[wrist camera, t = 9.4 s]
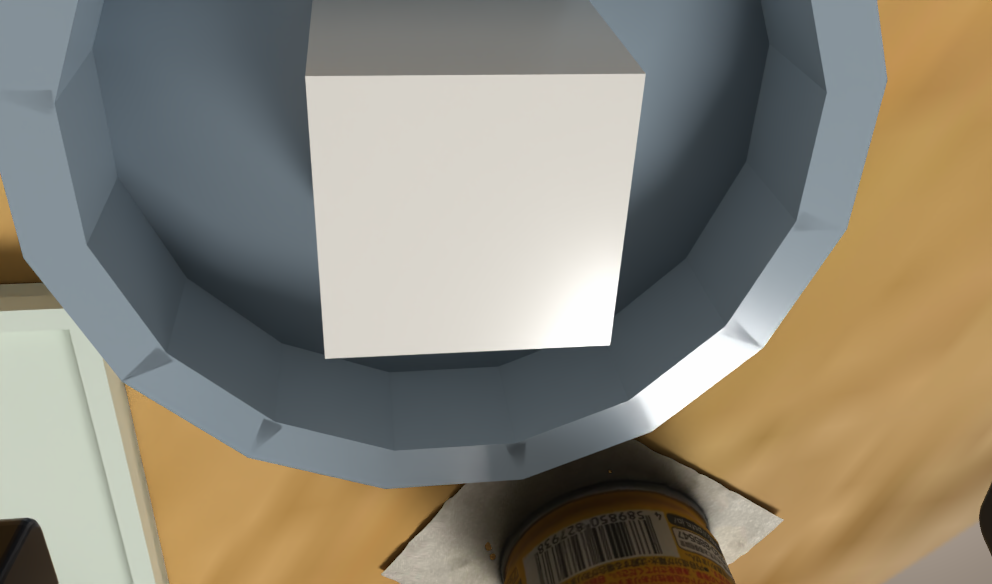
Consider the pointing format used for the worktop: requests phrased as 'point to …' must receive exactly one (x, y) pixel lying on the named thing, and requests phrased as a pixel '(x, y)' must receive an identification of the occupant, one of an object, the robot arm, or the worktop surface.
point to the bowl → (293, 243)
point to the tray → (71, 447)
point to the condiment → (589, 527)
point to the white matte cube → (468, 173)
